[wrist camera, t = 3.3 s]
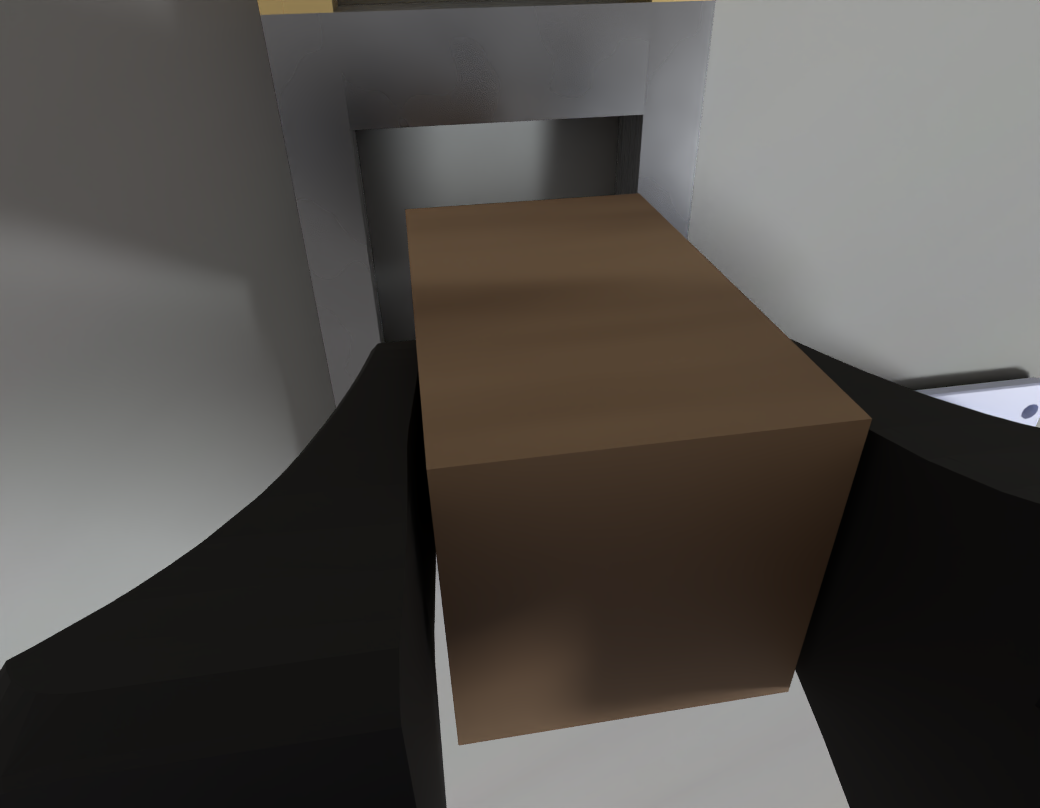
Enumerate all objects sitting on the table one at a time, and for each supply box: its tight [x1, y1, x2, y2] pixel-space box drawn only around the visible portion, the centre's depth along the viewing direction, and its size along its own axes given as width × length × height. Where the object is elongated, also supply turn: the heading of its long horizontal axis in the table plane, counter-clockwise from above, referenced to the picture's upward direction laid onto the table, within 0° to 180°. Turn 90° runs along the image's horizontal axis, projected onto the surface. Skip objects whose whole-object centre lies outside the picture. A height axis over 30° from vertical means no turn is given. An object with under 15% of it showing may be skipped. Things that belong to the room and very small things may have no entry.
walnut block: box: [405, 193, 872, 745], centre depth 10 cm, size 4×4×7 cm
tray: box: [257, 0, 716, 408], centre depth 14 cm, size 19×8×2 cm, turn 1°
